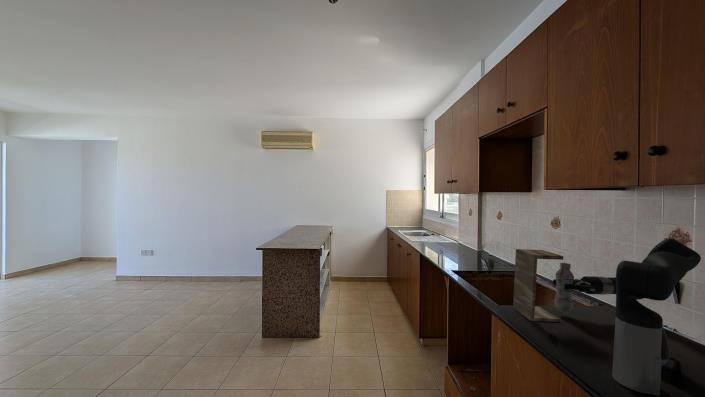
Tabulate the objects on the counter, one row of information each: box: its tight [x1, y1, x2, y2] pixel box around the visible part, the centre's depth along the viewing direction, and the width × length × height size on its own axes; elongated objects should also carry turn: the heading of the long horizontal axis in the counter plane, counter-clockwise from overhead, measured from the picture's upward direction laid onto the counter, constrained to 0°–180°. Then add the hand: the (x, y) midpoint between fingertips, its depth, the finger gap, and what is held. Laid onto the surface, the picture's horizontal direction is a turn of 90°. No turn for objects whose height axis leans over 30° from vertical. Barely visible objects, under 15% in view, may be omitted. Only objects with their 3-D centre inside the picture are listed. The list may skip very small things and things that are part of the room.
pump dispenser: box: [661, 325, 671, 367], centre depth 92 cm, size 10×10×15 cm
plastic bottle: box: [554, 262, 575, 312], centre depth 127 cm, size 6×7×20 cm
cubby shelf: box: [512, 248, 564, 323], centre depth 127 cm, size 12×13×27 cm
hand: (559, 284), depth 127 cm, fingers closed on plastic bottle, 6 cm apart
